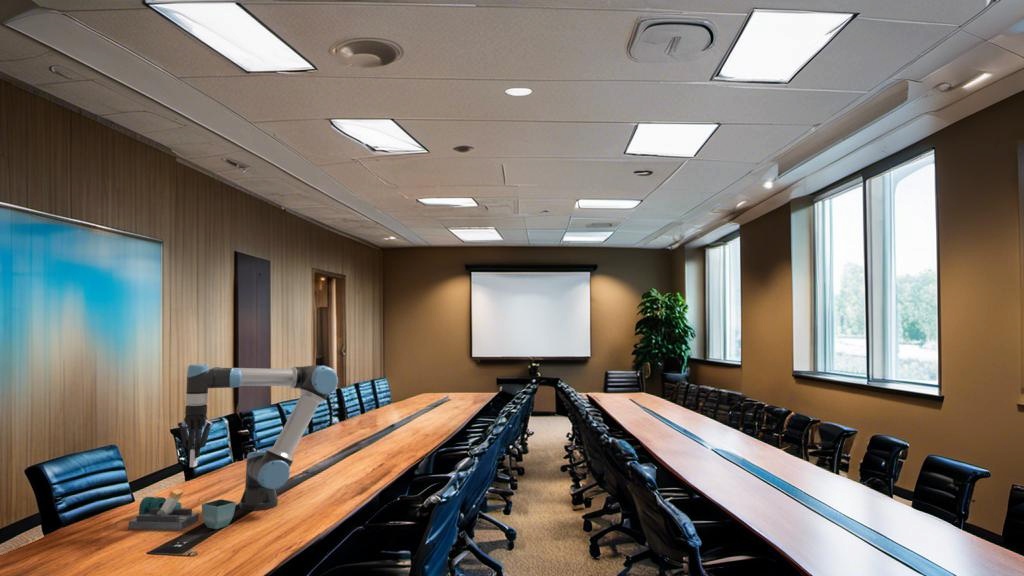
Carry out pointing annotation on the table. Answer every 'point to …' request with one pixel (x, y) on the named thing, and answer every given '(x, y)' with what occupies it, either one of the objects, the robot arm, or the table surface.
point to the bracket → (153, 504)
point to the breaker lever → (170, 502)
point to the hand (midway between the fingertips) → (193, 466)
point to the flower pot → (218, 513)
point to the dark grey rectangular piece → (164, 517)
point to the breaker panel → (164, 523)
